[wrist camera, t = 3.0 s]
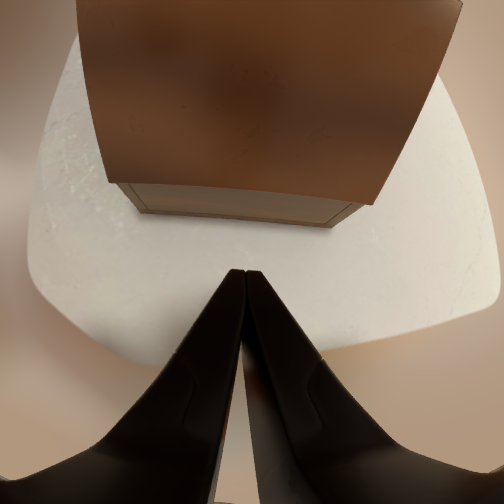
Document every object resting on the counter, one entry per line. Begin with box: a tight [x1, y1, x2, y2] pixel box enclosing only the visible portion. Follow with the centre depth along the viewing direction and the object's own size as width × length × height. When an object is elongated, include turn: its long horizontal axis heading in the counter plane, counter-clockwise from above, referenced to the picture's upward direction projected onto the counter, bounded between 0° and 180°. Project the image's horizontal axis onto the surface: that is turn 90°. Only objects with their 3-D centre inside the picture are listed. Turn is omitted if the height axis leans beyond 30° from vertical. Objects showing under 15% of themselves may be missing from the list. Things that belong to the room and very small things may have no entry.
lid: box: [76, 0, 463, 205], centre depth 9 cm, size 12×14×1 cm
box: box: [116, 183, 365, 228], centre depth 18 cm, size 11×14×6 cm
